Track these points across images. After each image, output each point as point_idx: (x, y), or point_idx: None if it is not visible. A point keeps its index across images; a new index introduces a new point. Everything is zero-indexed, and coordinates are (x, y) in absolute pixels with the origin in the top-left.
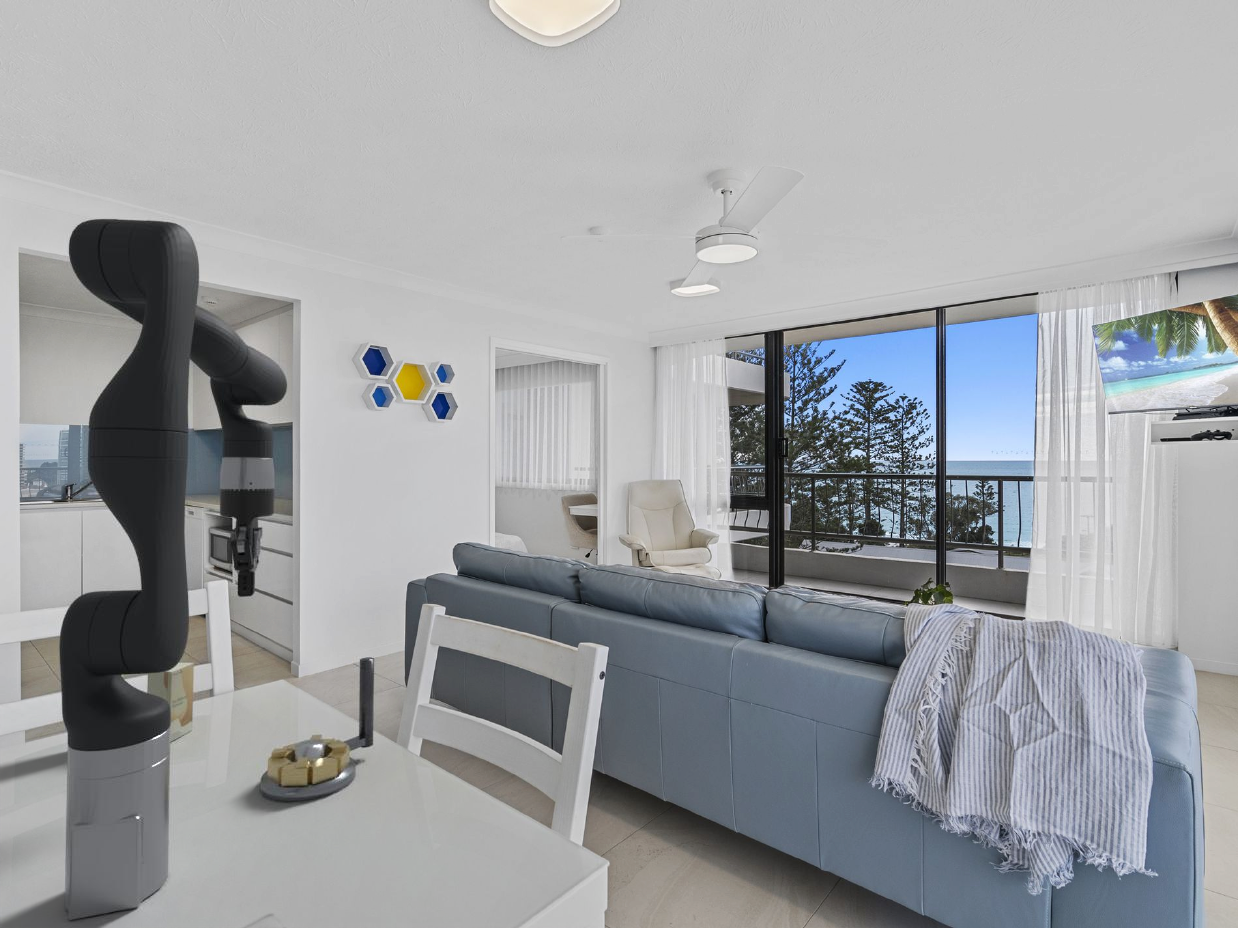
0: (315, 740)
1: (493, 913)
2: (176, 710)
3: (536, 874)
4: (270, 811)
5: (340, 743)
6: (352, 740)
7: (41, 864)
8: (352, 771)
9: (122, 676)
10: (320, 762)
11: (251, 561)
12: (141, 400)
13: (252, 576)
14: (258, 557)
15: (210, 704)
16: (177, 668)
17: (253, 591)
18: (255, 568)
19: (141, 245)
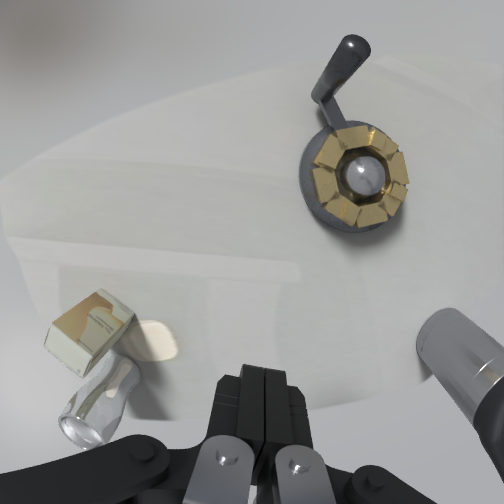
0: (357, 165)
1: None
2: (110, 321)
3: None
4: (400, 226)
5: (352, 132)
6: (333, 112)
7: (369, 386)
8: (384, 133)
9: (88, 399)
10: (399, 171)
11: (428, 499)
12: None
13: (289, 432)
14: (88, 454)
15: (29, 262)
16: (75, 347)
17: (283, 376)
18: (300, 457)
19: None
